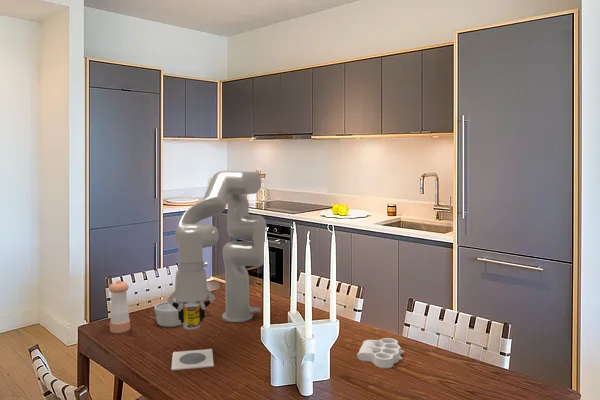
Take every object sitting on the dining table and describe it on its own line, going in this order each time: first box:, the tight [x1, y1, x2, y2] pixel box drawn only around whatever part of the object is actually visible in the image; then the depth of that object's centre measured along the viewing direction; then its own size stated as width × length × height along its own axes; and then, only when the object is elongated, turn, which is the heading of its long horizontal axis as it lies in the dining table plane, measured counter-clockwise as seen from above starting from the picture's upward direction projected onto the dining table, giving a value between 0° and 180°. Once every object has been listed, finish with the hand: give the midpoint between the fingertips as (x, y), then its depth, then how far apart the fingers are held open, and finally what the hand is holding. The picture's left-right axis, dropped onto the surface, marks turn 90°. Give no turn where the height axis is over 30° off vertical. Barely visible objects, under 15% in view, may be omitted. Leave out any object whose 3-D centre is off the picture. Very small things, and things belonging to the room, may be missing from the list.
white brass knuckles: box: [356, 337, 405, 369], centre depth 160 cm, size 3×18×15 cm
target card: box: [170, 348, 215, 371], centre depth 157 cm, size 13×13×1 cm
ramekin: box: [154, 300, 183, 328], centre depth 191 cm, size 13×13×7 cm
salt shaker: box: [108, 280, 131, 334], centre depth 182 cm, size 7×7×19 cm
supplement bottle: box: [182, 301, 201, 330], centre depth 155 cm, size 6×6×10 cm
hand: (191, 320), depth 155 cm, fingers closed on supplement bottle, 5 cm apart
